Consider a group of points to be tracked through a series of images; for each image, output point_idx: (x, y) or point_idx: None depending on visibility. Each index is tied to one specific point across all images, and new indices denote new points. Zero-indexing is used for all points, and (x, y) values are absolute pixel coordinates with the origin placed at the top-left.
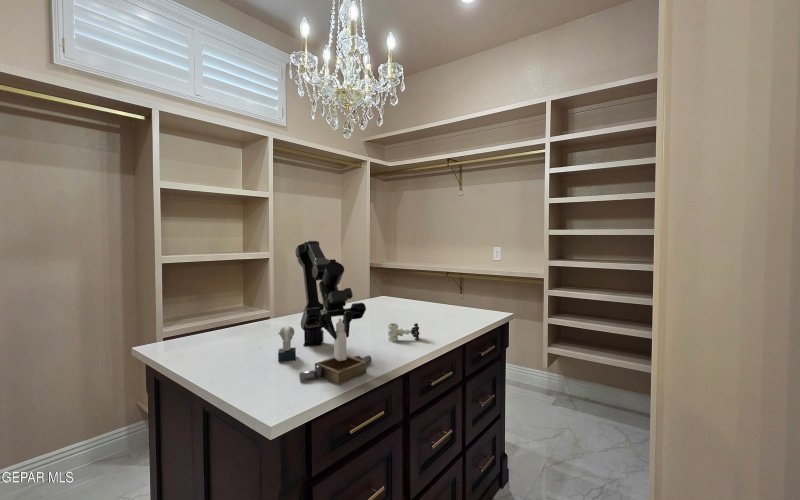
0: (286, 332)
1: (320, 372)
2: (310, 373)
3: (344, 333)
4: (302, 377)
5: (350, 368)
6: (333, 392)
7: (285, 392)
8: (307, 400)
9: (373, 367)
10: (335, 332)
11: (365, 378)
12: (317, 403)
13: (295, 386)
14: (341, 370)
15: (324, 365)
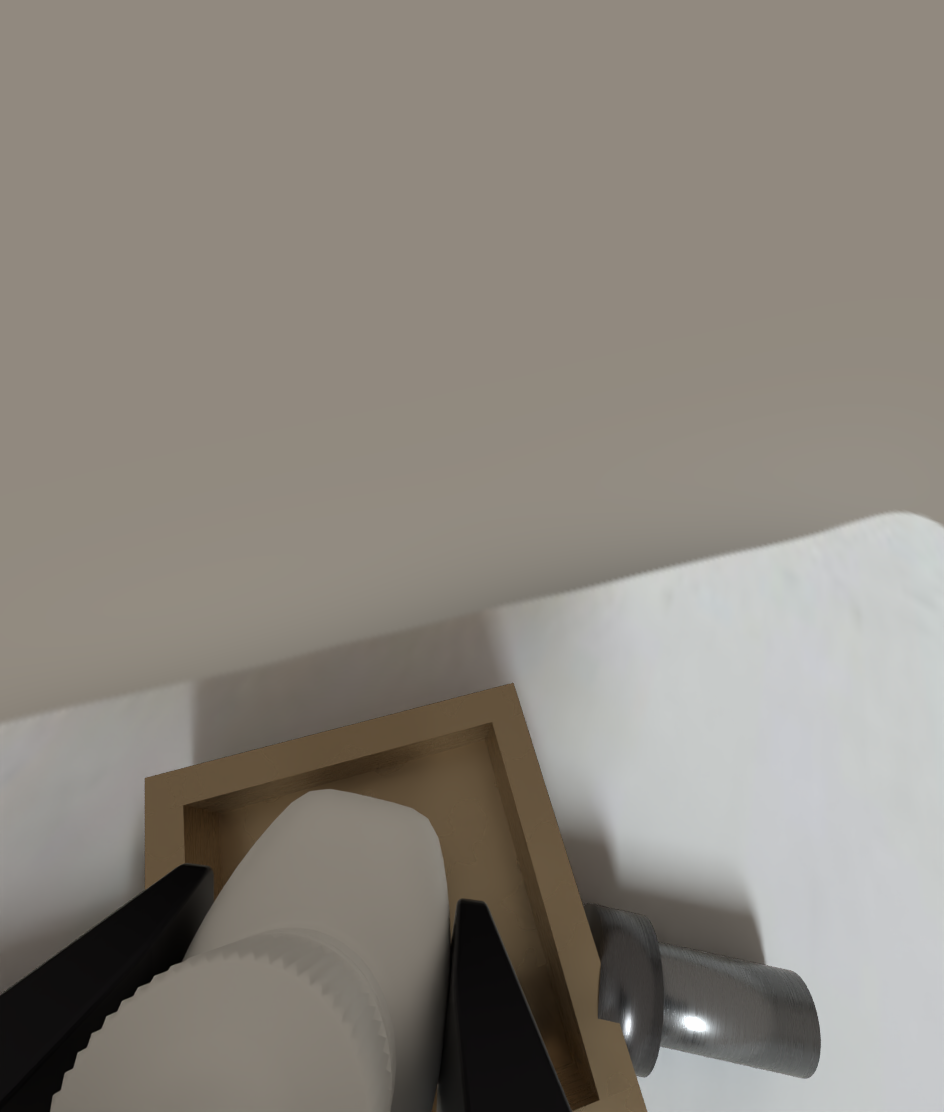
0: None
1: (613, 911)
2: (705, 968)
3: (277, 852)
4: (775, 968)
5: (373, 719)
6: (572, 630)
7: (891, 835)
8: (746, 626)
9: (39, 885)
10: (457, 989)
11: (271, 700)
12: (696, 562)
13: (815, 906)
14: (466, 720)
15: (564, 975)
